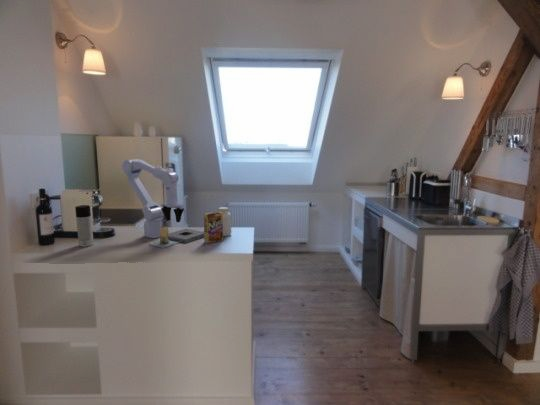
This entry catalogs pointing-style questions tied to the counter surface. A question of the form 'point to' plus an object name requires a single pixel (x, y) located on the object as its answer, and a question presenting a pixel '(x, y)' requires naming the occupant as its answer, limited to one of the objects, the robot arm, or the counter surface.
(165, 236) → the end plug
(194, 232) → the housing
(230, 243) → the counter surface
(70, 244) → the counter surface
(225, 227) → the pill bottle
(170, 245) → the mat
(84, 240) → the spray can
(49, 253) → the counter surface
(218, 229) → the candy box
